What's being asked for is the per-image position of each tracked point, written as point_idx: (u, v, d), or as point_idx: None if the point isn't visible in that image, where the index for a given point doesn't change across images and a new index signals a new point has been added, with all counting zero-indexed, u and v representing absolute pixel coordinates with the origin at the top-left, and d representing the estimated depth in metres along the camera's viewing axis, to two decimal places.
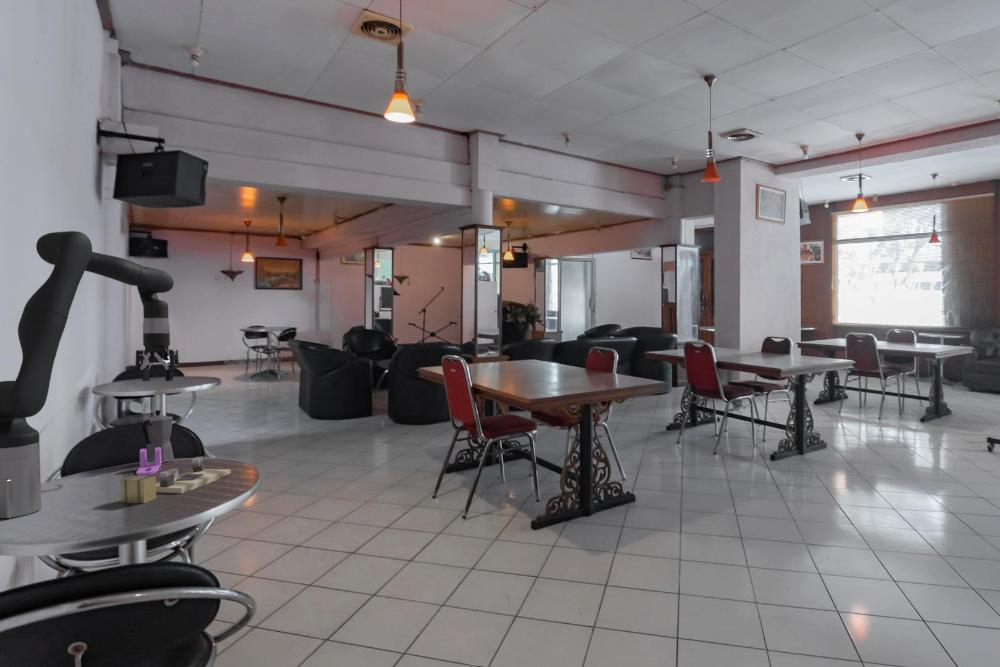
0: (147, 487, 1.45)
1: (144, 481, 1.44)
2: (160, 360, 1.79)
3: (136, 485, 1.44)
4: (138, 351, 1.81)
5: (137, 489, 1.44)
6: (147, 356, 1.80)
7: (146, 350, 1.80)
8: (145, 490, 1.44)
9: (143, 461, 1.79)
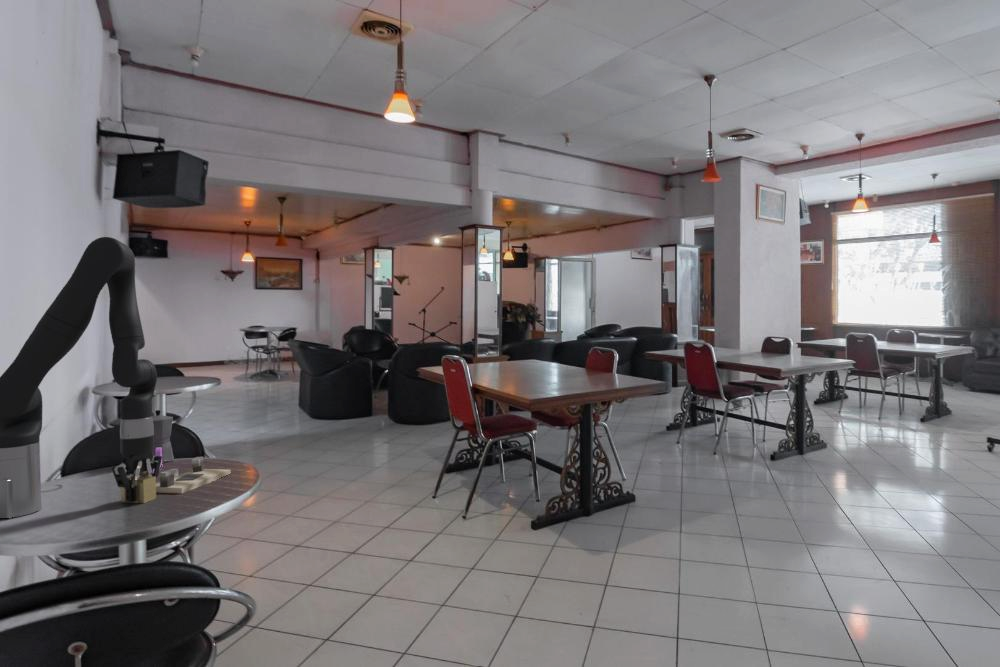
0: (147, 487, 1.44)
1: (144, 481, 1.44)
2: (149, 469, 1.47)
3: (136, 485, 1.44)
4: (122, 467, 1.40)
5: (137, 489, 1.44)
6: (139, 466, 1.44)
7: (131, 460, 1.43)
8: (145, 490, 1.44)
9: None
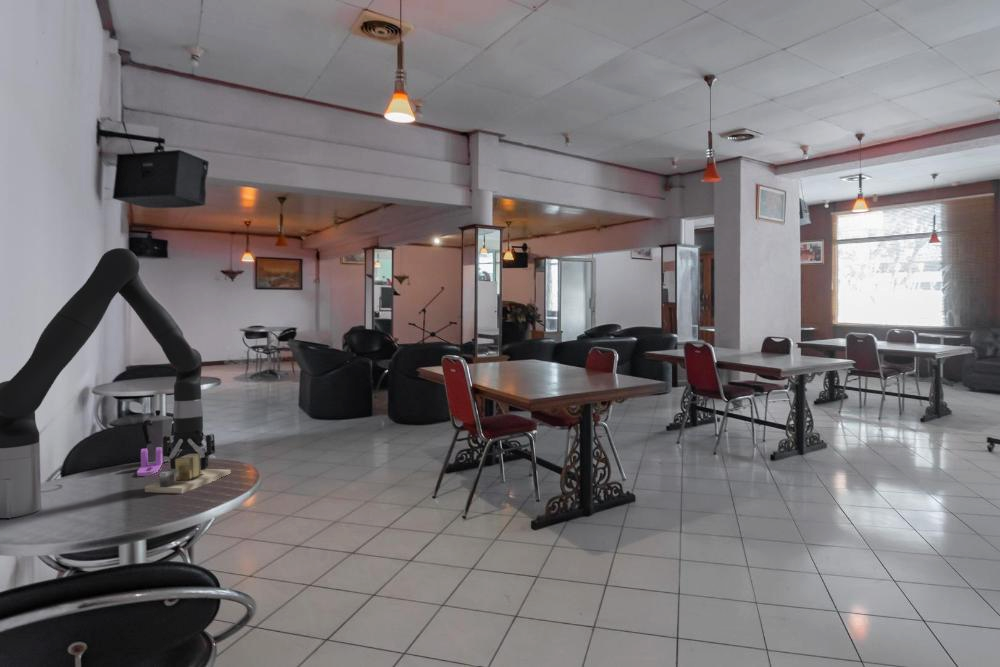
0: (179, 466, 1.59)
1: (176, 460, 1.59)
2: (195, 447, 1.61)
3: None
4: (166, 437, 1.61)
5: None
6: (179, 443, 1.60)
7: (176, 436, 1.61)
8: None
9: (144, 461, 1.79)
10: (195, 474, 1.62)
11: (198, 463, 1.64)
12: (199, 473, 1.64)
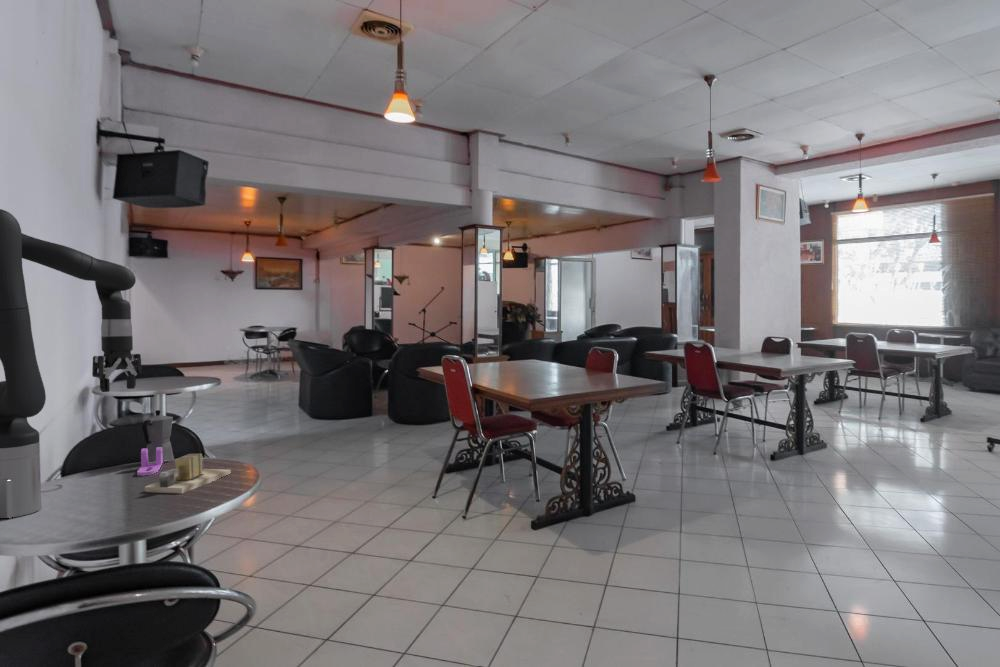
0: (179, 466, 1.59)
1: (176, 460, 1.59)
2: (130, 366, 1.63)
3: None
4: (102, 357, 1.55)
5: None
6: (117, 362, 1.59)
7: (111, 355, 1.58)
8: None
9: (144, 461, 1.79)
10: (195, 474, 1.62)
11: (198, 463, 1.64)
12: (199, 473, 1.64)
